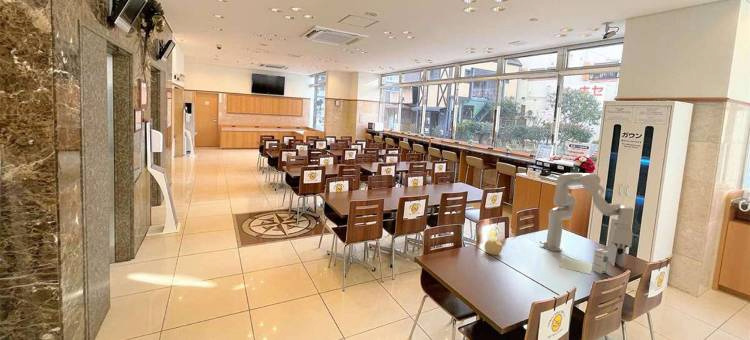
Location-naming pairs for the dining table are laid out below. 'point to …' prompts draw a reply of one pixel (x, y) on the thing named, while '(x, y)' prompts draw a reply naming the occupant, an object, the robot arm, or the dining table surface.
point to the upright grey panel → (614, 248)
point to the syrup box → (600, 260)
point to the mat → (576, 265)
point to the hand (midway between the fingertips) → (619, 254)
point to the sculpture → (493, 246)
